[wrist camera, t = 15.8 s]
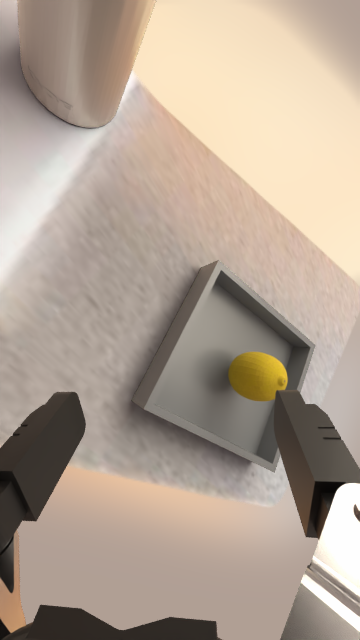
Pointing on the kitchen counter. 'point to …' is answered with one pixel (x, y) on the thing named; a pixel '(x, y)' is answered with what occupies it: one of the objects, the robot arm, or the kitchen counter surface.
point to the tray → (222, 365)
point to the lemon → (257, 376)
